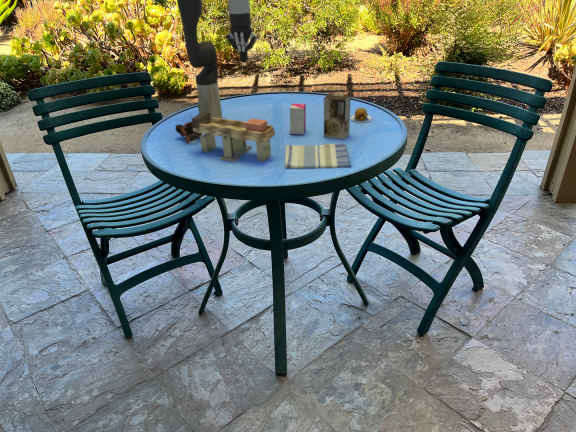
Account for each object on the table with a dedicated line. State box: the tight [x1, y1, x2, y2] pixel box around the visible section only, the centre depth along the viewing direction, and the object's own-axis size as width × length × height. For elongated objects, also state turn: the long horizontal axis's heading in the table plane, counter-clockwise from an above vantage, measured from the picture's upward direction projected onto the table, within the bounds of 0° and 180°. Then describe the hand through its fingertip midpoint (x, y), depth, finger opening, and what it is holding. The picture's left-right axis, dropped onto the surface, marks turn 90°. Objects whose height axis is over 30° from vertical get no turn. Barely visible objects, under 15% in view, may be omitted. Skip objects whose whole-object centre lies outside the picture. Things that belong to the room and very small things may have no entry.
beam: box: [190, 112, 276, 143], centre depth 152 cm, size 30×8×5 cm, turn 66°
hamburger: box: [350, 107, 372, 123], centre depth 183 cm, size 12×12×6 cm
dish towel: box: [284, 143, 352, 170], centre depth 152 cm, size 17×24×3 cm
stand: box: [199, 133, 272, 163], centre depth 155 cm, size 26×13×10 cm, turn 66°
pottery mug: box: [174, 121, 204, 144], centre depth 171 cm, size 12×10×8 cm
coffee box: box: [323, 92, 351, 140], centre depth 165 cm, size 9×6×16 cm
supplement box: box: [289, 102, 307, 136], centre depth 170 cm, size 6×6×12 cm
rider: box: [245, 118, 268, 134], centre depth 148 cm, size 6×5×4 cm
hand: (244, 61), depth 158 cm, fingers closed
